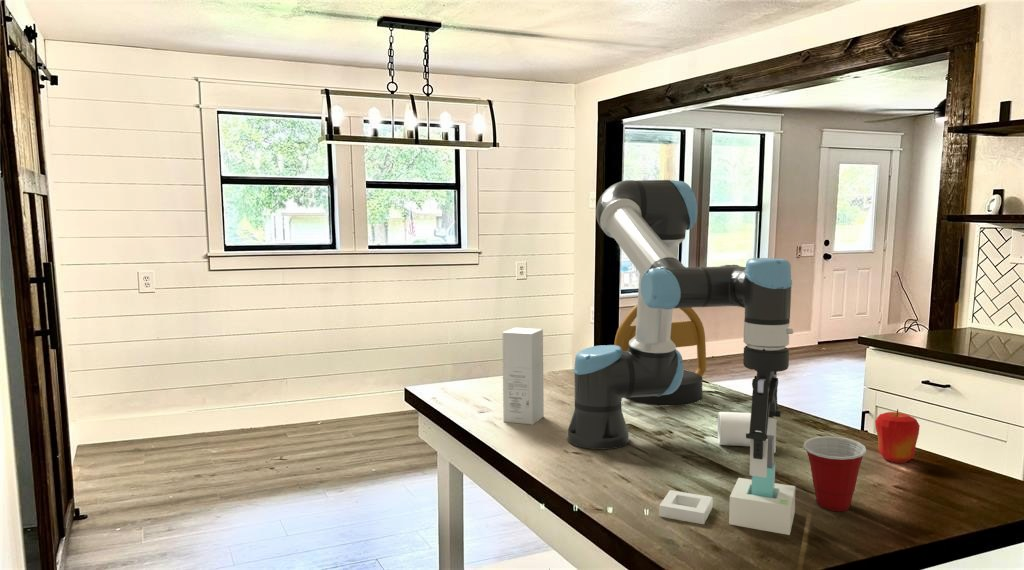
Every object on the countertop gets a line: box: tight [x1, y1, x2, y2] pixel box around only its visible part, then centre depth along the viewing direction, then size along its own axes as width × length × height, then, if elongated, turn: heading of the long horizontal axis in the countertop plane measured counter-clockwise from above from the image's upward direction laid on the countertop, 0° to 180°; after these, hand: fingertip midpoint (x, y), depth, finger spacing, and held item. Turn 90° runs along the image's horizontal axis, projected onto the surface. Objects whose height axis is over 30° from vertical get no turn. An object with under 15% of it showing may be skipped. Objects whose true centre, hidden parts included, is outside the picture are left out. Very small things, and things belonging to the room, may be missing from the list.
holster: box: [658, 489, 713, 525], centre depth 127 cm, size 8×8×3 cm
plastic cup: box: [803, 435, 867, 512], centre depth 131 cm, size 11×11×12 cm
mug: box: [717, 411, 760, 447], centre depth 170 cm, size 12×10×8 cm
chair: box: [613, 303, 707, 406], centre depth 216 cm, size 25×35×32 cm
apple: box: [874, 408, 921, 464], centre depth 156 cm, size 9×8×12 cm
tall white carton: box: [502, 327, 545, 426], centre depth 191 cm, size 9×9×25 cm
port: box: [728, 477, 796, 536], centre depth 124 cm, size 10×10×6 cm
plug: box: [751, 435, 776, 498], centre depth 124 cm, size 4×4×14 cm
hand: (763, 463), depth 123 cm, fingers open, 13 cm apart
